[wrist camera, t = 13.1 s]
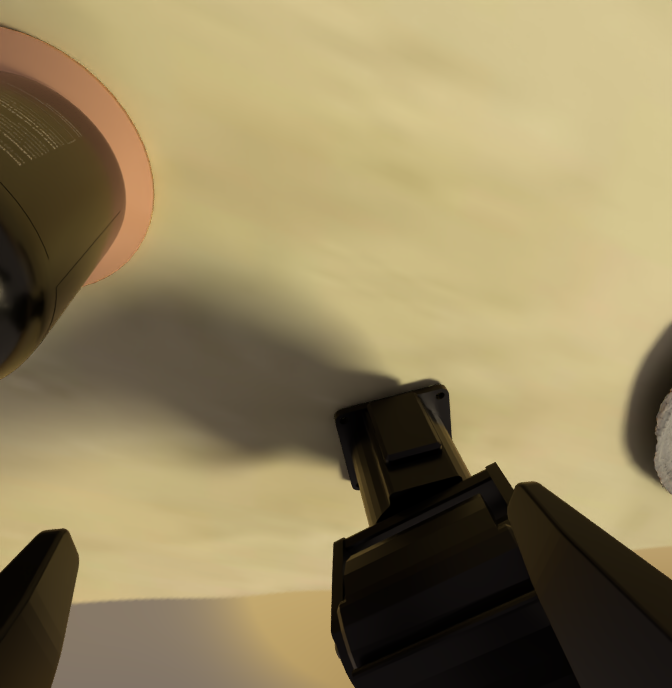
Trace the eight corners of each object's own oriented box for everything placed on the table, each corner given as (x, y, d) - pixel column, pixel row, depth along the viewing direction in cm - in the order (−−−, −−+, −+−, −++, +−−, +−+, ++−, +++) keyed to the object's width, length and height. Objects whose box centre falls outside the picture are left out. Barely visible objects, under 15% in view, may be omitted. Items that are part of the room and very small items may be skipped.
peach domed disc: (189, 257, 19) (187, 260, 19) (-22, 308, 19) (-27, 313, 18) (83, -6, 14) (79, -8, 14) (-205, 58, 14) (-216, 58, 13)
